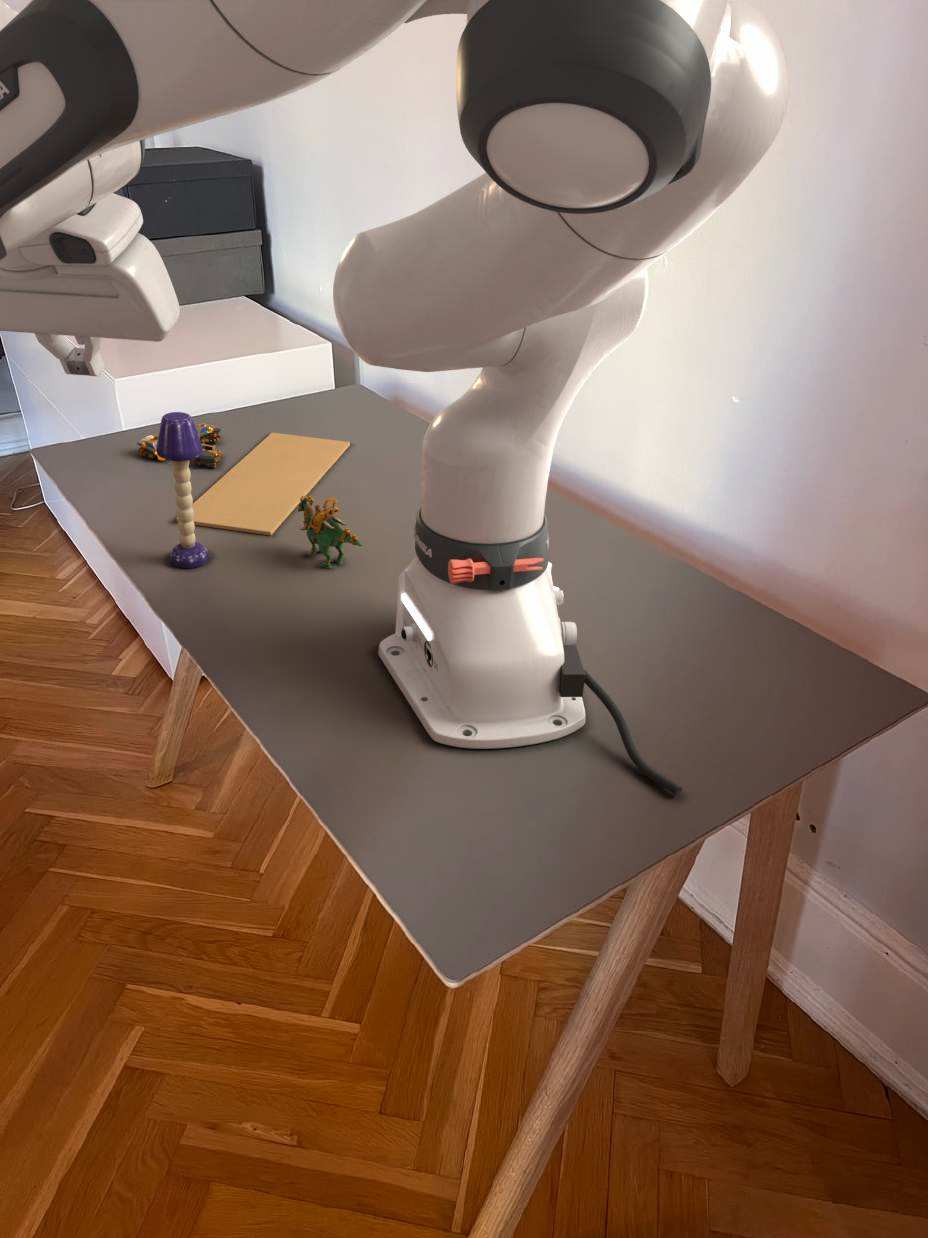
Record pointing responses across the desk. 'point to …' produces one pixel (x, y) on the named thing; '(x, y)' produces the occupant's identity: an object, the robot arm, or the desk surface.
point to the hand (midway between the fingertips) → (86, 371)
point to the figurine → (325, 528)
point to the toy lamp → (182, 483)
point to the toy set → (205, 434)
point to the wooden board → (267, 483)
